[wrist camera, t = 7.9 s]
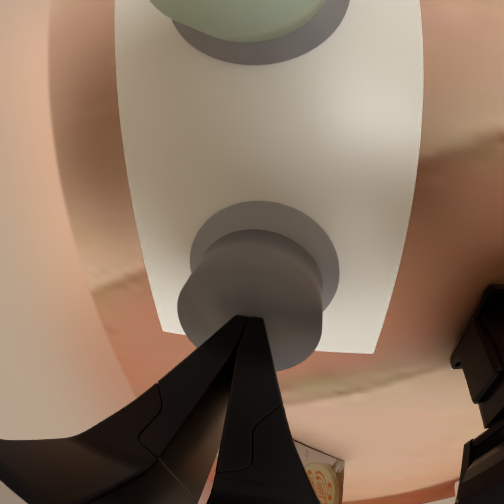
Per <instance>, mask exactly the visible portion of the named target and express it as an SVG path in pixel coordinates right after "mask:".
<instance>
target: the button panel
mask: <svg viewBox="0 0 504 504" xmlns="http://www.w3.org/2000/svg"><path fill="white" fill-rule="evenodd" d="M115 62H116V80H117V94H118V106H119V116H120V125H121V134H122V142H123V150H124V157H125V164H126V171H127V177H128V183H129V189H130V195H131V200H132V206H133V211H134V216H135V221H136V226H137V231H138V236H139V240H140V245H141V250H142V254H143V258H144V263H145V267H146V271H147V275H148V279H149V283H150V287H151V291H152V294H153V298H154V302H155V305H156V309H157V313H158V316H159V320H160V323H161V326H162V330H163V331H166V332H171V333H177V334H182V335H186V334H185V332H184V331H183V329H182V326H181V324H180V321H179V318H178V313H177V302H178V297H179V294H180V292H181V290H182V288H183V286H184V285H185V283H186V282H187V280H188V278H189V277H190V275H191V274H192V272H193V270H194V269H195V267H196V266H197V264H198V262H199V261H200V259H201V258H202V256H203V255H204V253H205V251H206V250H207V249H208V248H209V247H210V245H211V244H213V243H214V242H215V241H216V240H218V239H219V238H221V237H223V236H224V235H227V234H229V233H232V232H236V231H240V230H247V229H259V230H267V231H271V232H275V233H278V234H281V235H284V236H286V237H288V238H290V239H292V240H293V241H295V242H296V243H298V244H299V245H301V246H302V247H303V248H304V249H305V250H306V251H307V252H308V253H309V254H310V255H311V256H312V257H313V259H314V261H315V262H316V264H317V266H318V268H319V270H320V273H321V276H322V281H323V320H322V335H321V339H320V341H319V344H318V346H317V347H316V349H315V350H314V351H327V352H344V353H368V354H373V352H374V350H375V347H376V344H377V341H378V338H379V335H380V332H381V329H382V326H383V323H384V319H385V316H386V313H387V309H388V306H389V303H390V299H391V296H392V292H393V288H394V285H395V281H396V277H397V273H398V269H399V265H400V261H401V257H402V252H403V248H404V243H405V239H406V234H407V229H408V224H409V218H410V213H411V207H412V201H413V195H414V189H415V182H416V175H417V167H418V159H419V149H420V139H421V126H422V110H423V37H422V21H421V10H420V1H419V0H326V1H325V3H324V5H323V7H322V8H321V9H320V11H319V12H318V13H317V14H316V15H315V16H314V17H313V18H312V19H311V20H310V21H309V22H307V23H306V24H305V25H303V26H302V27H300V28H298V29H297V30H295V31H293V32H291V33H289V34H286V35H284V36H281V37H278V38H275V39H271V40H266V41H261V42H247V43H241V42H231V41H226V40H221V39H218V38H215V37H212V36H210V35H207V34H205V33H203V32H201V31H199V30H196V29H194V28H192V27H189V26H187V25H185V24H182V23H180V22H177V21H175V20H172V19H171V18H169V17H167V16H166V15H164V14H163V13H161V12H160V11H159V10H158V9H156V7H155V6H154V5H153V4H152V3H151V2H150V0H115Z"/></svg>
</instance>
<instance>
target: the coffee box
mask: <svg viewBox="0 0 504 504" xmlns="http://www.w3.org/2000/svg"><path fill="white" fill-rule="evenodd" d="M294 444H295V446H296V449H297V451H298V454H299V456H300V459H301V461H302V463H303V466H304V468H305V470H306V473H307V475H308V477H309V480H310V482H311V484H312V486H313V489H314V491H315V493H316V495H317V497H318V499H319V500H320V502H321V504H342V495H343V480H344V461H341V460H339V459H336V458H333V457H331V456H328V455H326V454H323V453H321V452H318V451H316V450H314V449H311V448H309V447H307V446H304V445H302V444H300V443H298V442H295V441H294Z"/></svg>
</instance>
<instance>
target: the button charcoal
mask: <svg viewBox="0 0 504 504" xmlns="http://www.w3.org/2000/svg"><path fill="white" fill-rule="evenodd" d="M177 313H178V318H179V321H180V324H181V326H182V329H183V331H184V332H185V334H186V335H187V337H188V338H189V339H190V341H191V342H192V343H193V344H194V345H195V346H196V347H197V348H198V347H199V346H200V345H201V344H203V343H204V342H205V341H206V340H207V339H208V338H209V337H211V336H212V335H213V334H214V333H215V332H216V331H217V330H219V329H220V328H221V327H222V326H223V325H224V324H225V323H227V322H228V321H229V320H230V319H231V318H232V317H233V316H235V315H244V316H248V317H249V318H250V317H251V316H253V317H262V318H263V319H264V322H265V327H266V331H267V335H268V340H269V344H270V349H271V353H272V357H273V362H274V366H275V370H276V371H281V370H284V369H288V368H291V367H293V366H295V365H297V364H299V363H301V362H303V361H304V360H305V359H307V358H308V357H309V356H310V355H311V354H312V353H313V352H314V350H315V349H316V347H317V346H318V344H319V341H320V339H321V335H322V320H323V281H322V276H321V273H320V270H319V268H318V266H317V264H316V262H315V261H314V259H313V257H312V256H311V255H310V254H309V253H308V252H307V251H306V250H305V249H304V248H303V247H302V246H301V245H299V244H298V243H296V242H295V241H293V240H292V239H290V238H288V237H286V236H284V235H281V234H278V233H275V232H271V231H267V230H259V229H247V230H240V231H236V232H232V233H229V234H227V235H224V236H223V237H221V238H219V239H218V240H216V241H215V242H214V243H213V244H211V245H210V247H209V248H208V249H207V250H206V251H205V253H204V255H203V256H202V258H201V259H200V261H199V262H198V264H197V266H196V267H195V269H194V270H193V272H192V274H191V275H190V277H189V278H188V280H187V282H186V283H185V285H184V286H183V288H182V290H181V292H180V294H179V297H178V302H177Z"/></svg>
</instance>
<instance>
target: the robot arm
mask: <svg viewBox="0 0 504 504" xmlns="http://www.w3.org/2000/svg"><path fill="white" fill-rule="evenodd" d="M492 293H493V294H492ZM491 294H492V295H491ZM450 363H451V367H452V368H453V369H463V371H464V375H465V378H466V381H467V385H468V388H469V391H470V395H471V399H472V401H473V403H474V404H478V405H479V409H480V413H481V417H482V421H483V425H484V428H485V429H487V428H489V429H487V430H486V431H485V432H483V433H482V434H481V435H479V436H478V437H476V438H475V439H471V440H470V441H468V442H467V443H465V444H464V450H463V459H462V467H461V474H460V480H459V486H458V492H457V497H456V502H455V504H504V285H499V284H493V285H490V286H488V287H487V288H486V290H485V291H484V294H483V296H482V298H481V301H480V303H479V305H478V308H477V310H476V312H475V314H474V316H473V318H472V320H471V323H470V325H469V327H468V329H467V331H466V333H465V335H464V337H463V339H462V340H461V342H460V344H459V346H458V348H457V350H456V352H455V353H454V355H453V357H452V359H451V361H450ZM219 447H220V449H219ZM218 449H219V455H218V460H217V466H216V474H215V478H214V482H213V487H212V490H211V494H210V496H209V499H208V501H207V503H206V504H321V502H320V500H319V499H318V497H317V495H316V493H315V491H314V489H313V486H312V484H311V482H310V480H309V477H308V475H307V473H306V470H305V468H304V466H303V463H302V461H301V459H300V456H299V454H298V451H297V449H296V446H295V444H294V441H293V438H292V435H291V432H290V429H289V425H288V422H287V418H286V414H285V409H284V406H283V401H282V397H281V392H280V388H279V384H278V379H277V375H276V370H275V366H274V362H273V357H272V353H271V349H270V344H269V340H268V335H267V331H266V327H265V322H264V319H263V318H262V317H253V316H251V317H250V318H249V317H248V316H244V315H235V316H233V317H232V318H231V319H230V320H229V321H228V322H227V323H225V324H224V325H223V326H222V327H221V328H220V329H219V330H217V331H216V332H215V333H214V334H213V335H212V336H211V337H209V338H208V339H207V340H206V341H205V342H204V343H203V344H201V345H200V346H199V347H198V348H197V349H196V350H194V351H193V352H192V353H191V354H190V355H189V356H187V357H186V358H185V359H184V360H183V361H182V362H180V363H179V364H178V365H177V366H176V367H175V368H173V369H172V370H171V371H170V372H169V373H167V374H166V375H165V376H164V377H163V378H161V379H160V380H159V381H158V383H155V384H154V385H153V386H152V387H151V388H149V389H148V390H147V391H146V392H144V393H143V394H142V395H140V396H139V397H138V398H137V399H135V400H134V401H132V402H131V403H130V404H128V405H127V406H125V407H124V408H122V409H121V410H119V411H118V412H116V413H114V414H113V415H111V416H110V417H108V418H106V419H105V420H103V421H102V422H100V423H98V424H97V425H95V426H93V427H92V428H90V429H88V430H87V431H85V432H83V433H81V434H78V435H76V436H73V437H68V438H61V439H43V440H3V439H0V504H198V503H197V502H198V501H199V499H200V496H201V494H202V491H203V489H204V486H205V484H206V481H207V478H208V476H209V473H210V471H211V468H212V465H213V463H214V460H215V457H216V455H217V452H218Z"/></svg>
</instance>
